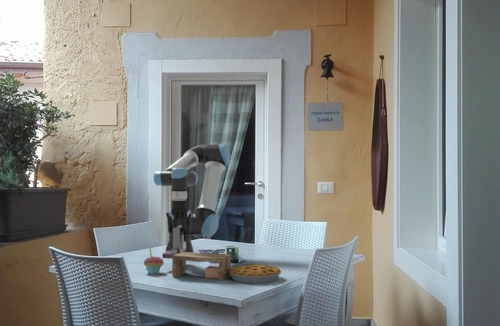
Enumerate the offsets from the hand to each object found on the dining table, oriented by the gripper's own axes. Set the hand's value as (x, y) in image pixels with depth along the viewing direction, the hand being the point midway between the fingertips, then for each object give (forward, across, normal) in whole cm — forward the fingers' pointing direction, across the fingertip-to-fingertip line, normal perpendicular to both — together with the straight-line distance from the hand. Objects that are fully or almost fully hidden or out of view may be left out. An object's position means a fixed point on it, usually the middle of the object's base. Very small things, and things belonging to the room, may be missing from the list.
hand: (179, 247), depth 257 cm
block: (+7, +26, -23) cm, 35 cm away
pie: (+7, +44, -22) cm, 50 cm away
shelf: (+7, +21, -24) cm, 33 cm away
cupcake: (+7, -2, -24) cm, 25 cm away
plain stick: (+8, -9, -12) cm, 17 cm away
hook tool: (+2, +3, -7) cm, 7 cm away
